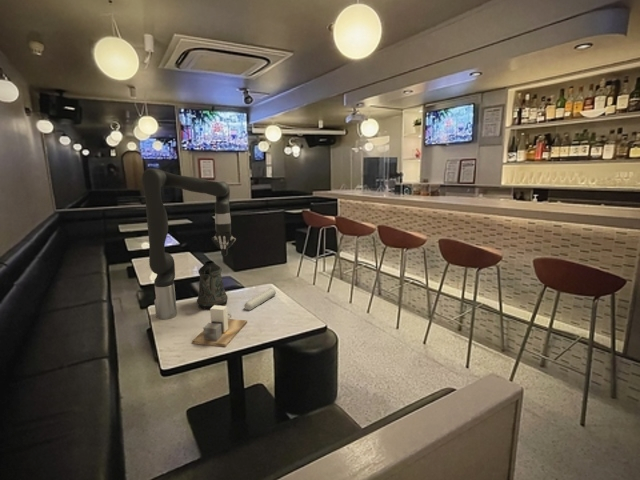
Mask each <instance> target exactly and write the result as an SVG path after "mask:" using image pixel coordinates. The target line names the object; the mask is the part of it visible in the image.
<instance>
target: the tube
mask: <svg viewBox="0 0 640 480" xmlns="http://www.w3.org/2000/svg"><path fill="white" fill-rule="evenodd" d="M276 291H277V290H276V289H275V288H273V287H269V289H266V290H264V291H263V292H261V293H260V294H258V295H256V296H254V297H252V298H251V299H249V300H247V301H246V302H245V303H244V308H245V310H246V311H251V310H254V309H255V308H257V307H258V306H260V305H261V304H263V303H264V302H265V303H266V301H268V300H269V299H271V298H273V297H275V296H276V294H277V293H276Z"/></svg>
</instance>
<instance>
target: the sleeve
mask: <svg viewBox="0 0 640 480" xmlns="http://www.w3.org/2000/svg"><path fill="white" fill-rule="evenodd" d="M209 311H210V312H209V313H210V323H211V322H212V321H216V322H223V332H226V331H227V329H228V314H229V313H228V306H227V305H225V306H217V305H214V306H213V307H212V308H210V310H209Z"/></svg>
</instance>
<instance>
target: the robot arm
mask: <svg viewBox="0 0 640 480" xmlns="http://www.w3.org/2000/svg"><path fill="white" fill-rule="evenodd" d="M141 183H142V188H143V192H144V197H145V199H144V200H145V210H146V222H147V223H146V225H147V232H148V233H147V234H148V242H149V243H148V244H149V245H148V246H149V252H148V254H149V260H148V262H149V263H148V264H149V269H150V270H151V272H153V273H154V274H156V277H155V279H154V282H153V283H154V293H155V299H154V302H153V303H154V310H155V317H156V318H158V319H159V320H169V319H172V318H174V317H176V316H177V315H178V312H177V311H178V310H177V300H176V291H175V289H176V288H175V278H176V269H175V268H176V266H175V259H174V257H173V256H172V254H170V253H169V252H166V251H165V250H166V249H165V248H166V247H165V244H166V241H167V237H168V232H169V221H168V212H167V210H166V208H165V205H164V202H163V199H162V188H177V189H181V190H185V191H188V192H191V193H199V194H207V195H209V196H210V195H211V196H214V197H215V203H214V214H215V215H214V222H215V223H214V226H215V227H214V228H215V229H214V230H215V234H214V236H213V237H211V241H212V242H213V243H214V245H215V246H216V248H219V249H220V254H221V255H222V257H226V256H227V255H228V254H229V252H228V250H229V248H231V247H232V246H233V245H234V243H235V242H236V241H237V238H236V237H234V236H233V234H232V220H231V219H232V218H231V213H230V211H231V210H230V197H231V194H230V193H231V190H230V189H231V188H230V185H229V184H228V183H227V182H226V181H214V180H208V179H206V178H200V177H194V176H185V175H178V174H175V173H171V172H168V171H165V170H162V169H159V168H148V169H146V170H144V172H142V174H141ZM229 241H230V242H229Z"/></svg>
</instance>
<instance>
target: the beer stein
mask: <svg viewBox="0 0 640 480" xmlns="http://www.w3.org/2000/svg"><path fill="white" fill-rule="evenodd" d="M197 272H198V274H199V286H198V296H197V298H196V303H197V307H198V308H199V309H200V310H207V311H210V308H212V307H213V306H214V305H217V306H227V305H228V295H227V292H226V290H225V287H224V282H223V278H222V267H221V266H219V265H218V264H216V263H215V262H214V260H208V261H207V260H206V261H205V262H204V264H203V265H202V266H201V267H200V268H198V271H197Z"/></svg>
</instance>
